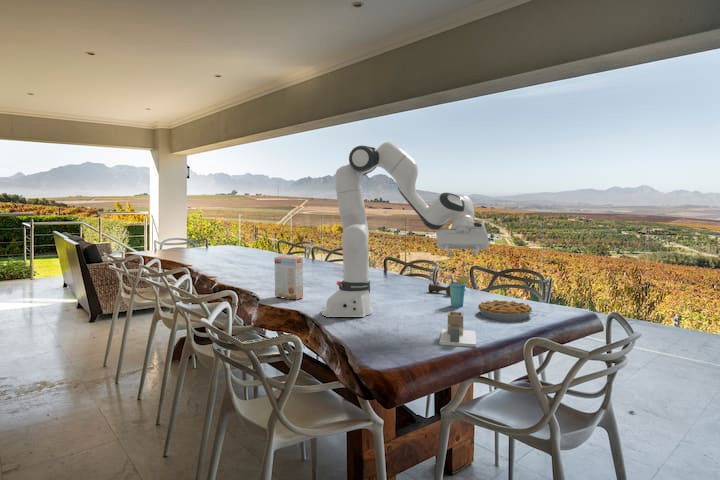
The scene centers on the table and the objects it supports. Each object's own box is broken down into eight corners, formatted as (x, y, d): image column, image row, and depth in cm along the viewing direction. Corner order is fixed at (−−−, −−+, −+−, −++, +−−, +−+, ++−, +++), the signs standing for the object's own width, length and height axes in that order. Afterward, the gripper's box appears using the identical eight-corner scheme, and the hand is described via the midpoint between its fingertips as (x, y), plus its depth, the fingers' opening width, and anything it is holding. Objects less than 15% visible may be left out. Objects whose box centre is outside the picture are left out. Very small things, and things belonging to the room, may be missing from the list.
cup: (451, 310, 203) (452, 276, 201) (439, 307, 209) (439, 274, 207) (472, 305, 211) (472, 273, 210) (459, 302, 217) (459, 271, 216)
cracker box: (303, 298, 228) (303, 257, 227) (295, 300, 223) (295, 258, 222) (282, 295, 236) (282, 255, 234) (274, 297, 231) (273, 256, 229)
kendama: (433, 291, 248) (468, 294, 238) (426, 294, 240) (462, 297, 229) (432, 280, 248) (468, 282, 237) (425, 283, 240) (462, 286, 229)
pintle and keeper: (451, 334, 166) (451, 312, 165) (459, 335, 165) (460, 313, 164) (450, 344, 154) (450, 321, 153) (459, 345, 153) (459, 321, 153)
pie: (494, 307, 209) (494, 296, 209) (541, 315, 193) (541, 303, 193) (468, 315, 194) (468, 304, 193) (516, 325, 178) (516, 312, 178)
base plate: (442, 331, 170) (442, 328, 169) (475, 333, 167) (475, 330, 167) (439, 344, 154) (439, 341, 154) (476, 347, 151) (476, 344, 151)
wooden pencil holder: (448, 330, 168) (448, 311, 167) (463, 331, 166) (463, 312, 166) (446, 338, 158) (447, 318, 157) (462, 339, 156) (463, 319, 156)
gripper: (436, 223, 186) (434, 250, 177) (488, 224, 181) (489, 251, 173) (437, 233, 191) (435, 260, 182) (487, 234, 186) (488, 261, 177)
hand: (462, 255), depth 177 cm, fingers open, 8 cm apart
